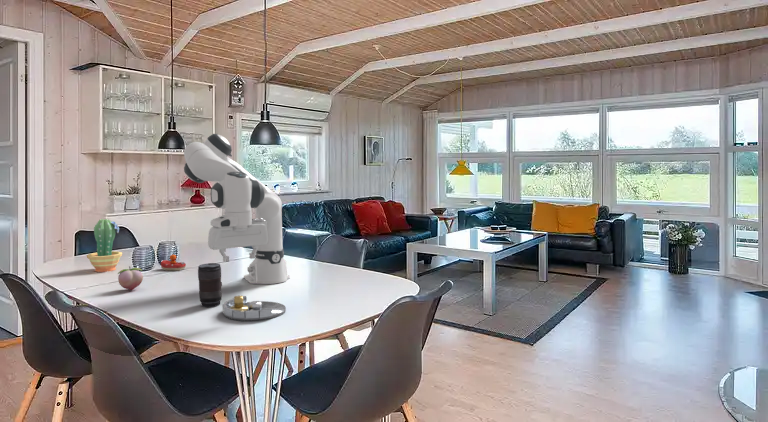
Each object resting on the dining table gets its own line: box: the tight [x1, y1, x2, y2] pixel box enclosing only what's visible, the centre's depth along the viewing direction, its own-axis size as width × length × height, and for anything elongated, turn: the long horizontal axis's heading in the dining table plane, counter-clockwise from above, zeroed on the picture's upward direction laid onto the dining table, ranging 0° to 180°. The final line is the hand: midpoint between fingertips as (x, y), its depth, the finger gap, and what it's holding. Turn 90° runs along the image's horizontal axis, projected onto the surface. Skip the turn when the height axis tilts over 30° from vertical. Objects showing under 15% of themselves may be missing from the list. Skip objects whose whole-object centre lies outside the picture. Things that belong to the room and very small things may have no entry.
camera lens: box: [197, 262, 223, 308], centre depth 189 cm, size 8×8×15 cm
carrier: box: [221, 295, 287, 322], centre depth 180 cm, size 22×22×3 cm
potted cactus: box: [86, 218, 123, 273], centre depth 249 cm, size 15×15×25 cm
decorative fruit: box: [117, 266, 144, 291], centre depth 210 cm, size 9×8×10 cm
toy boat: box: [160, 254, 187, 272], centre depth 252 cm, size 8×12×8 cm, turn 83°
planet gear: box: [230, 295, 248, 311], centre depth 176 cm, size 6×6×6 cm
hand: (239, 260), depth 175 cm, fingers open, 8 cm apart
